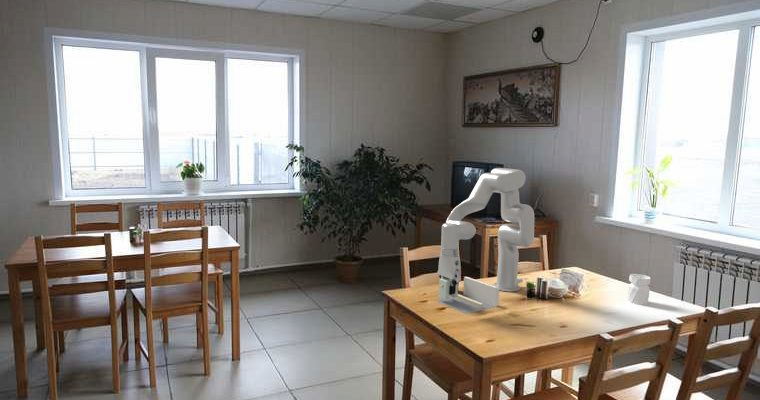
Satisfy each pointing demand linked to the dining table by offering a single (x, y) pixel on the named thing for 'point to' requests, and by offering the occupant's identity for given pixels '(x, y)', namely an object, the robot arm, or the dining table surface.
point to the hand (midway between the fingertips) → (448, 292)
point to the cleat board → (473, 297)
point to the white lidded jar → (638, 289)
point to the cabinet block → (446, 288)
